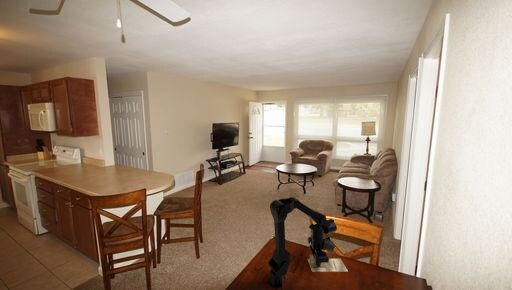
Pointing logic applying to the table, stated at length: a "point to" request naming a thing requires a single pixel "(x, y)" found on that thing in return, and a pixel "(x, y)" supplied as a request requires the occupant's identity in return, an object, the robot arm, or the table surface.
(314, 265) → the sanding block
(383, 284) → the table surface
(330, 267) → the board
